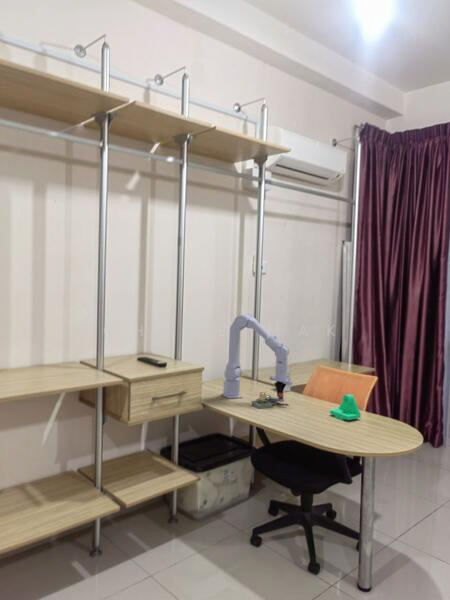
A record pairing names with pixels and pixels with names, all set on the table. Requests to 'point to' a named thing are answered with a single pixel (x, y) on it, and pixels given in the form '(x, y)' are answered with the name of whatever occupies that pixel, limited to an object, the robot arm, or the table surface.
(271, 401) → the dark gray disc
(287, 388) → the ink cartridge box
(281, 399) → the crank
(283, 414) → the table surface
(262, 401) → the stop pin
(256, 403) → the tray
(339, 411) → the camera mount
